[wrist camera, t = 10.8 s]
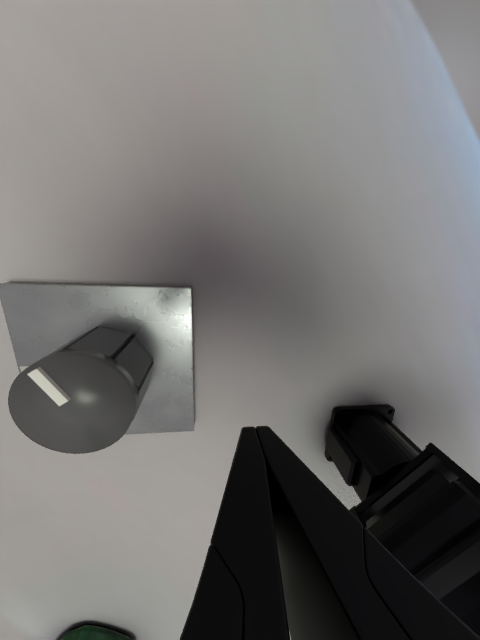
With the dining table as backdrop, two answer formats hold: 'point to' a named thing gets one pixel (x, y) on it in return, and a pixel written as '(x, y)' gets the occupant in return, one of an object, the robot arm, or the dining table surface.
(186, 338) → the mounting plate
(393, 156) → the dining table surface
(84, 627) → the coffee jar
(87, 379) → the knob
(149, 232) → the dining table surface
